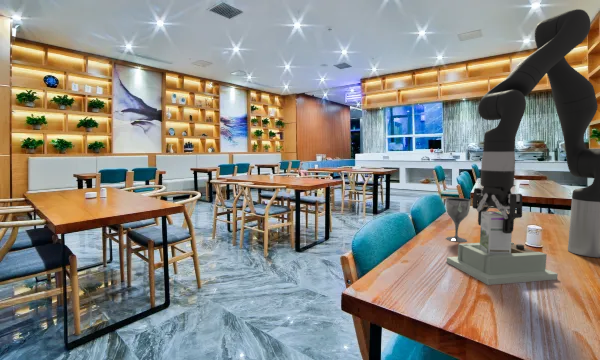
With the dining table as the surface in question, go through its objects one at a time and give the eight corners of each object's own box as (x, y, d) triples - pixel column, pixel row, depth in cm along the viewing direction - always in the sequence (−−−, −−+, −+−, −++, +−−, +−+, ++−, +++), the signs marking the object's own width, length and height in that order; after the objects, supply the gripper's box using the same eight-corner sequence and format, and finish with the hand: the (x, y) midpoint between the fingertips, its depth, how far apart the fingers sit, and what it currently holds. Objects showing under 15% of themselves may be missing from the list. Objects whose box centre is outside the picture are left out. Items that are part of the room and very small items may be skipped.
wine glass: (469, 238, 118) (471, 198, 116) (467, 243, 111) (469, 201, 110) (446, 235, 122) (447, 197, 120) (442, 240, 115) (444, 199, 114)
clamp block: (514, 257, 91) (515, 241, 91) (537, 267, 84) (538, 248, 84) (501, 258, 91) (503, 241, 90) (524, 268, 83) (525, 249, 83)
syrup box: (510, 270, 82) (514, 215, 81) (486, 269, 83) (489, 214, 82) (500, 262, 88) (503, 211, 87) (477, 261, 89) (480, 210, 88)
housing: (506, 258, 96) (507, 239, 96) (557, 279, 80) (559, 256, 80) (446, 262, 93) (447, 242, 92) (487, 284, 77) (489, 261, 76)
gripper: (534, 170, 77) (529, 235, 79) (489, 167, 91) (486, 222, 93) (507, 170, 76) (503, 236, 77) (466, 167, 90) (463, 223, 91)
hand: (494, 229), depth 85 cm, fingers open, 8 cm apart
